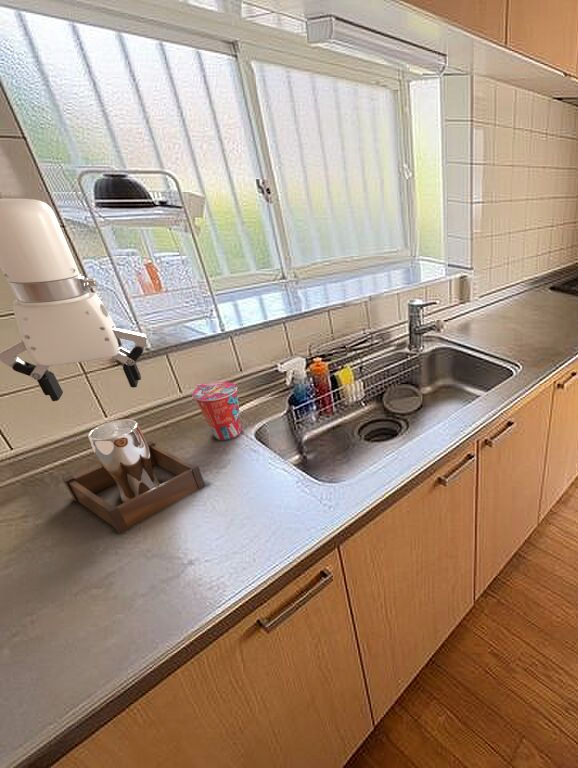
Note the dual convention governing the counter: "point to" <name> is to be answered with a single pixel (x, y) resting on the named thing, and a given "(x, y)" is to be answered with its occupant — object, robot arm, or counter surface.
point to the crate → (143, 503)
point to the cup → (220, 408)
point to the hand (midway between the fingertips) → (97, 390)
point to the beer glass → (124, 456)
